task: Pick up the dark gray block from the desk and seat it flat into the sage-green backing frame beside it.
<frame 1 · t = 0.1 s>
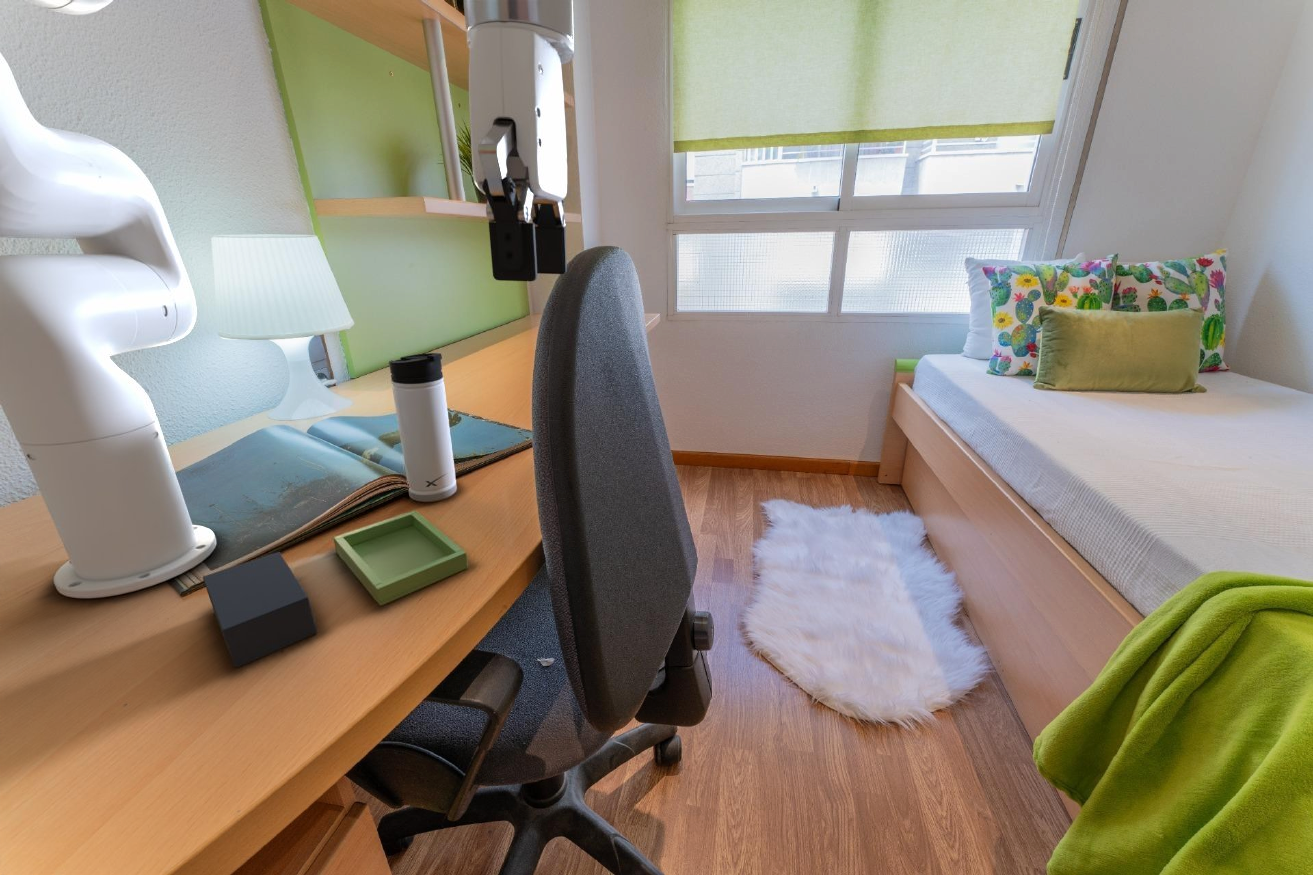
hand: (534, 276, 43), 31 cm above the table, tool pointing down, fingers open, 9 cm apart
dark gray block: (264, 622, 48), on the table
backing frame: (401, 559, 58), on the table
travel mug: (434, 493, 74), on the table
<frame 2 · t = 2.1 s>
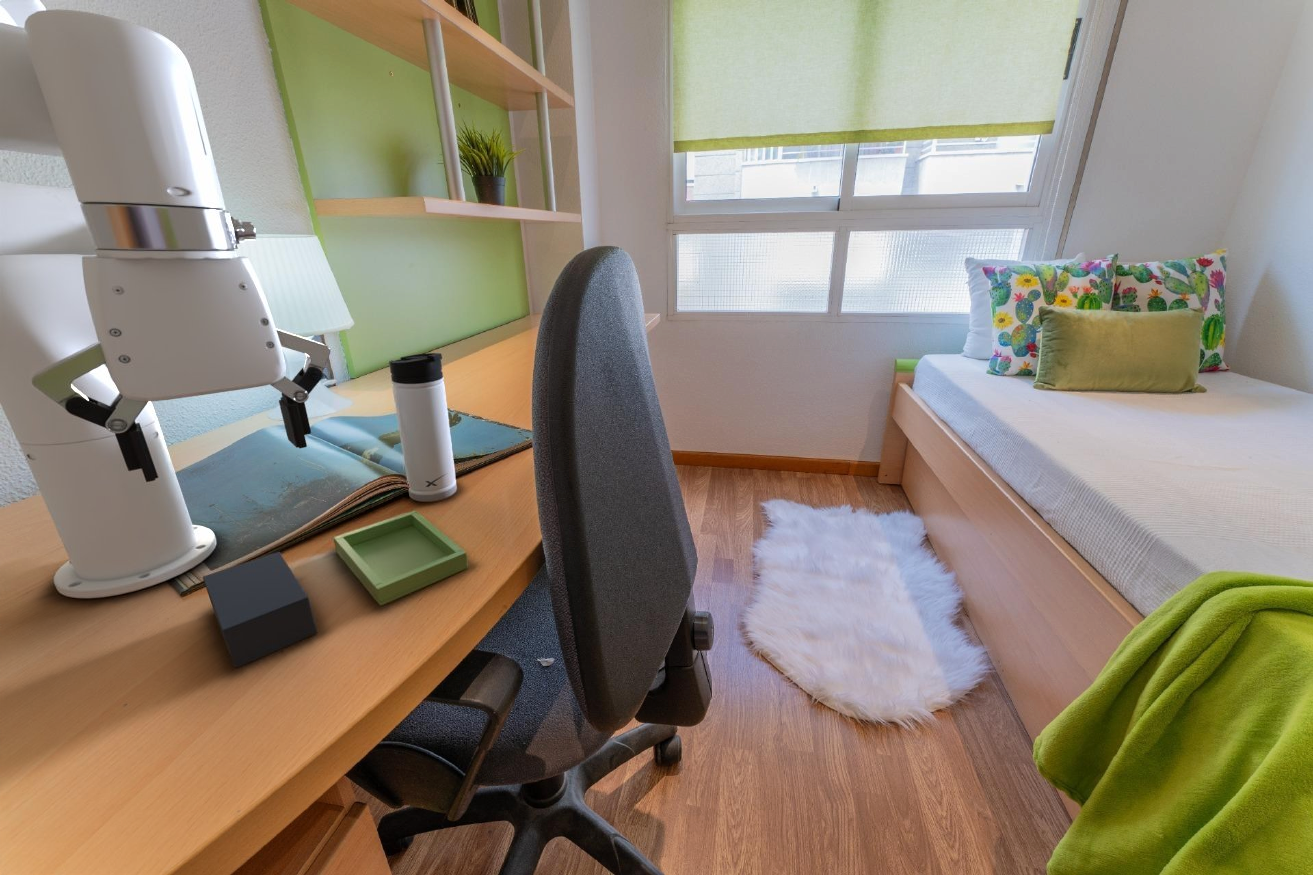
hand: (229, 458, 43), 17 cm above the table, tool pointing down, fingers open, 9 cm apart
nothing on the table moved.
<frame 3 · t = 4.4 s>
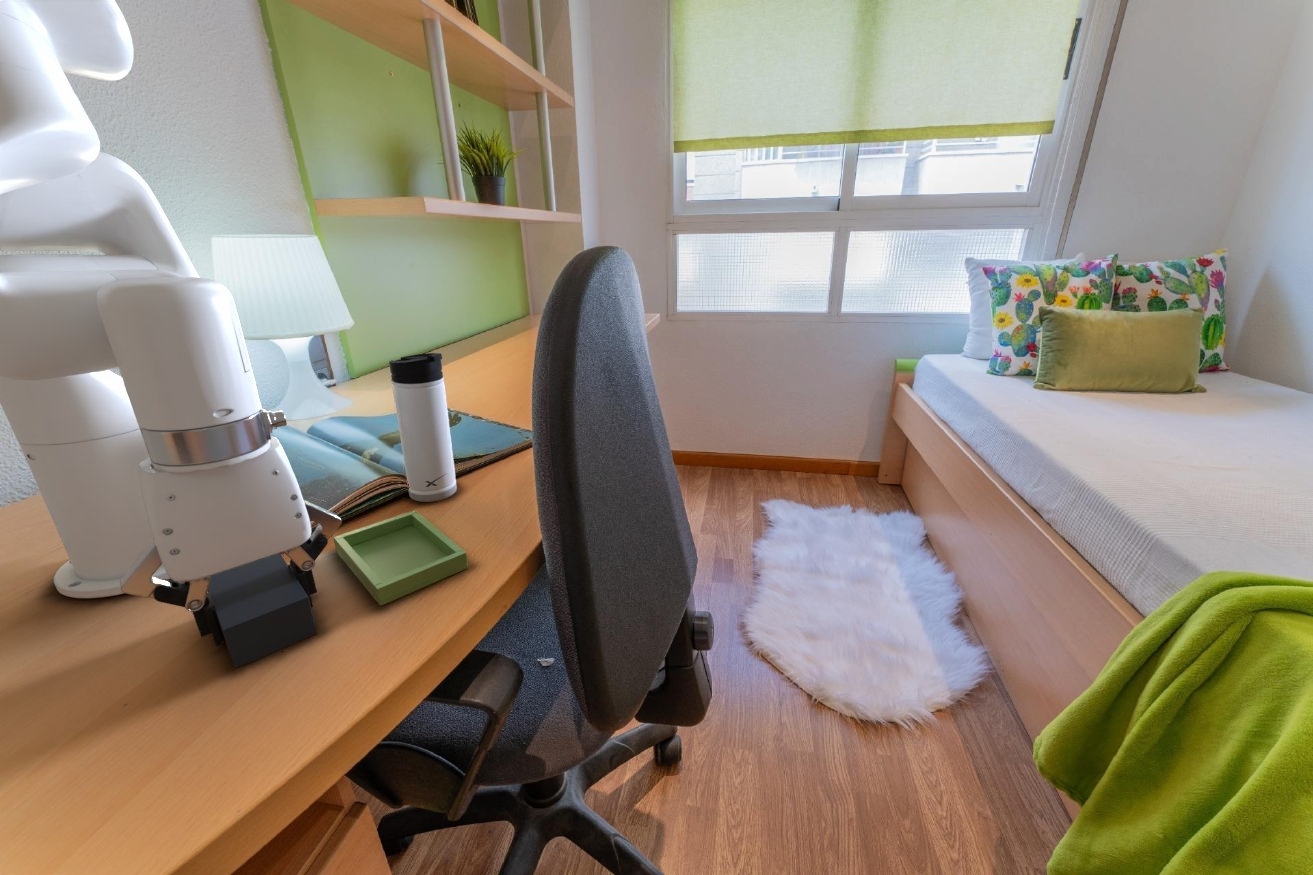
hand: (263, 617, 48), 1 cm above the table, tool pointing down, fingers closed on dark gray block, 6 cm apart
dark gray block: (264, 622, 48), on the table, touching gripper
everything else where it was.
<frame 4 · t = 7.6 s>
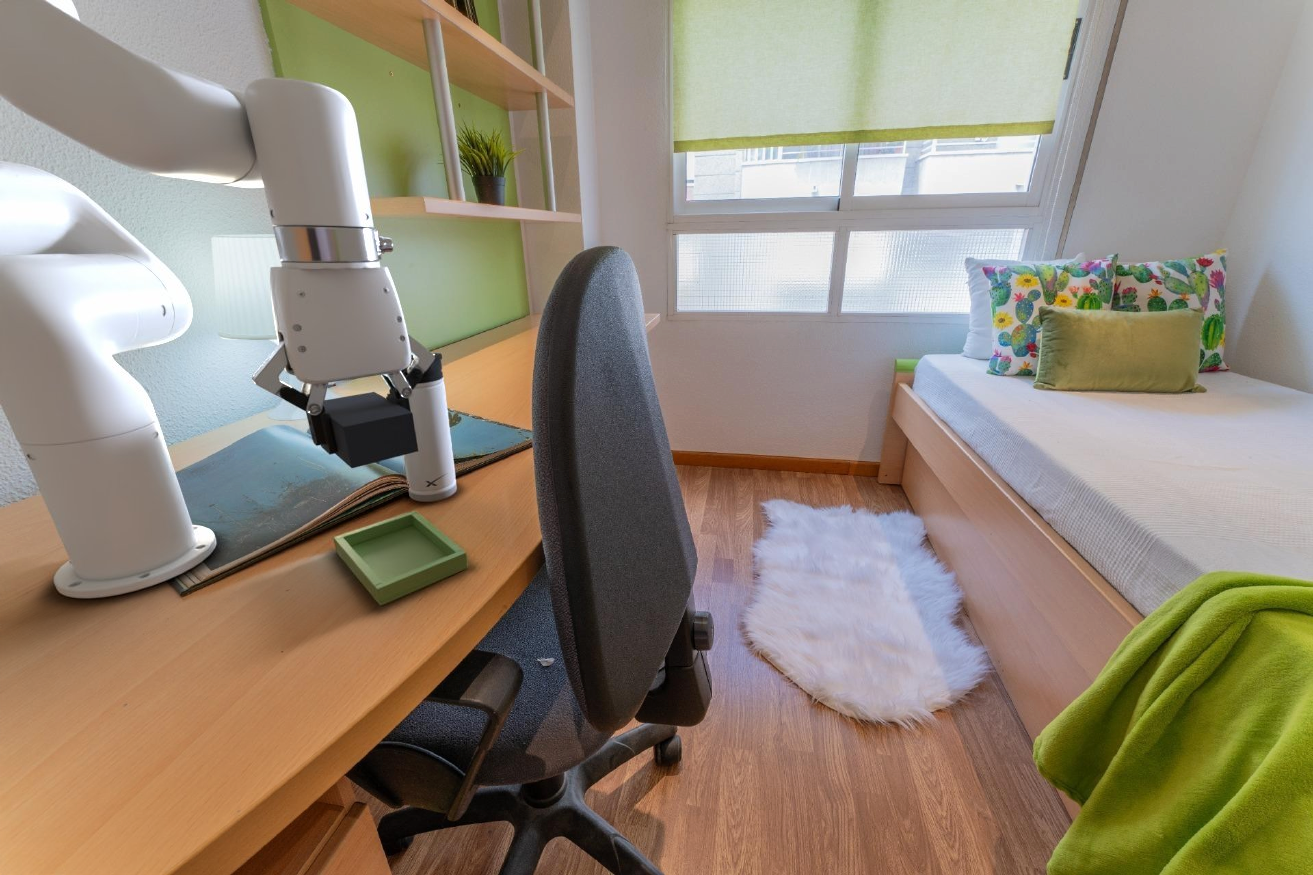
hand: (366, 439, 52), 15 cm above the table, tool pointing down, fingers closed on dark gray block, 6 cm apart
dark gray block: (367, 445, 52), point 14 cm above the table, touching gripper
everything else where it was.
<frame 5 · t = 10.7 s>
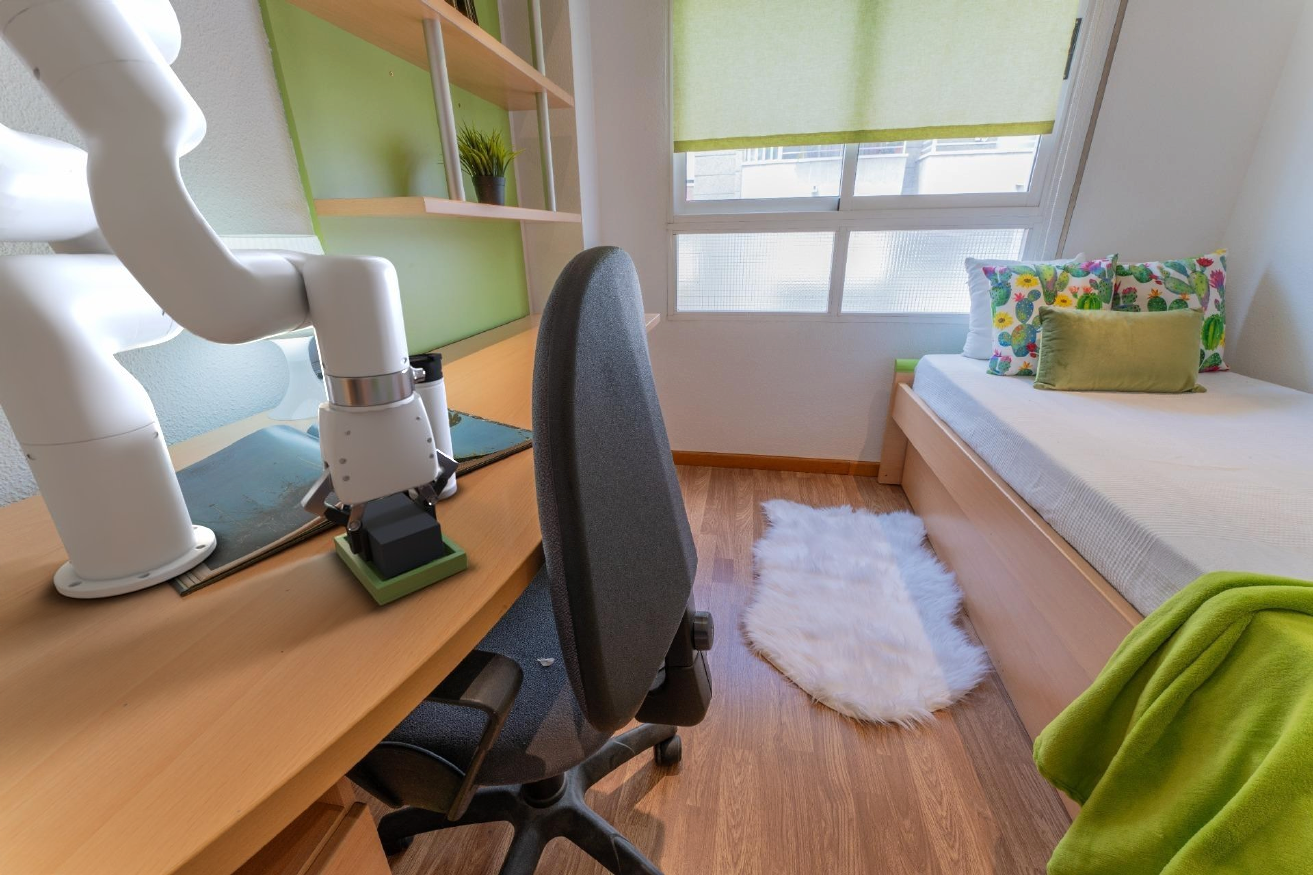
hand: (396, 542, 57), 2 cm above the table, tool pointing down, fingers closed on dark gray block, 6 cm apart
dark gray block: (397, 547, 58), point 2 cm above the table, touching gripper
everything else where it was.
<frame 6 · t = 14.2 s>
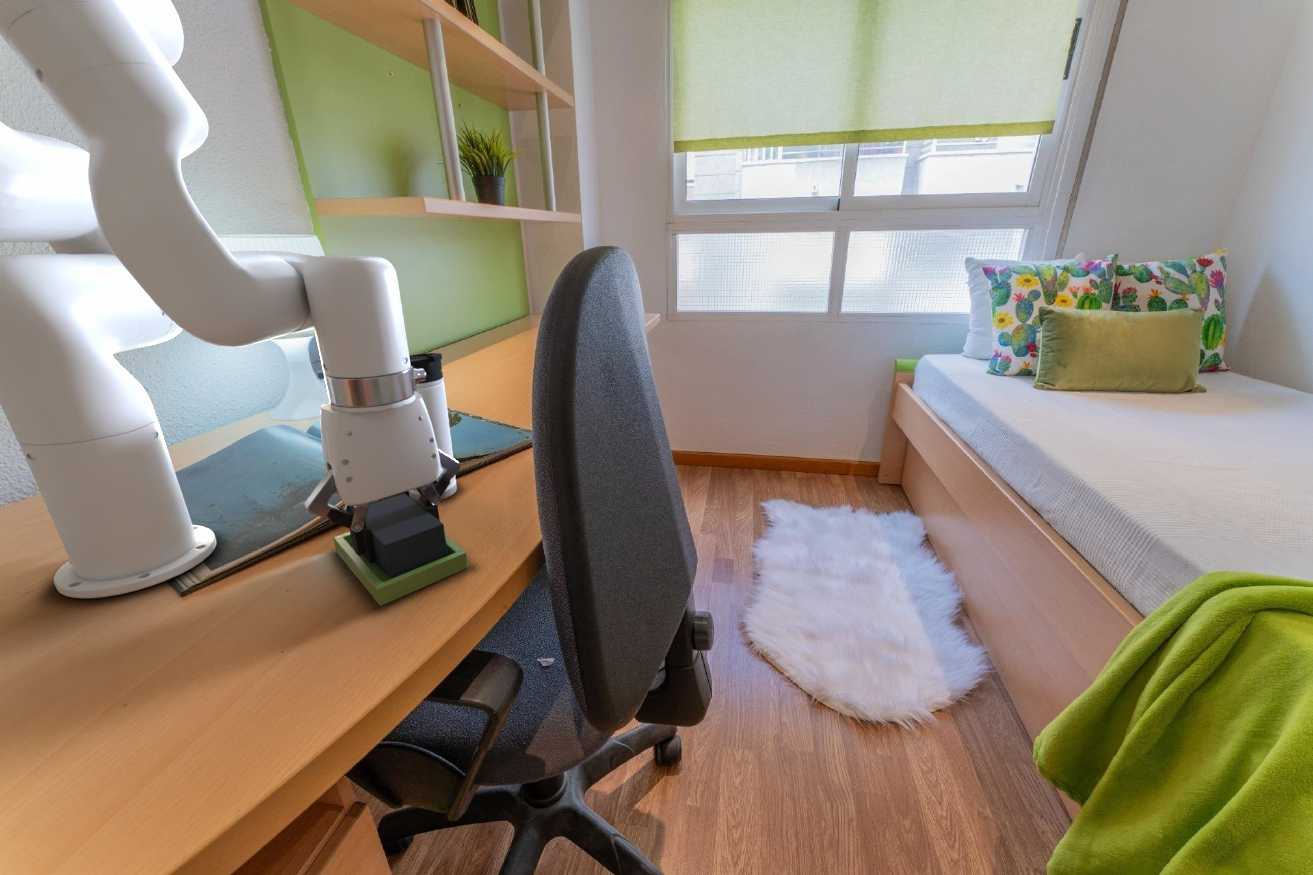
hand: (400, 543, 57), 2 cm above the table, tool pointing down, fingers closed on dark gray block, 6 cm apart
dark gray block: (401, 548, 58), point 2 cm above the table, touching gripper
everything else where it was.
when the fingers open (3 cm above the table, at t = 17.4 s): dark gray block drops 2 cm, resting on backing frame.
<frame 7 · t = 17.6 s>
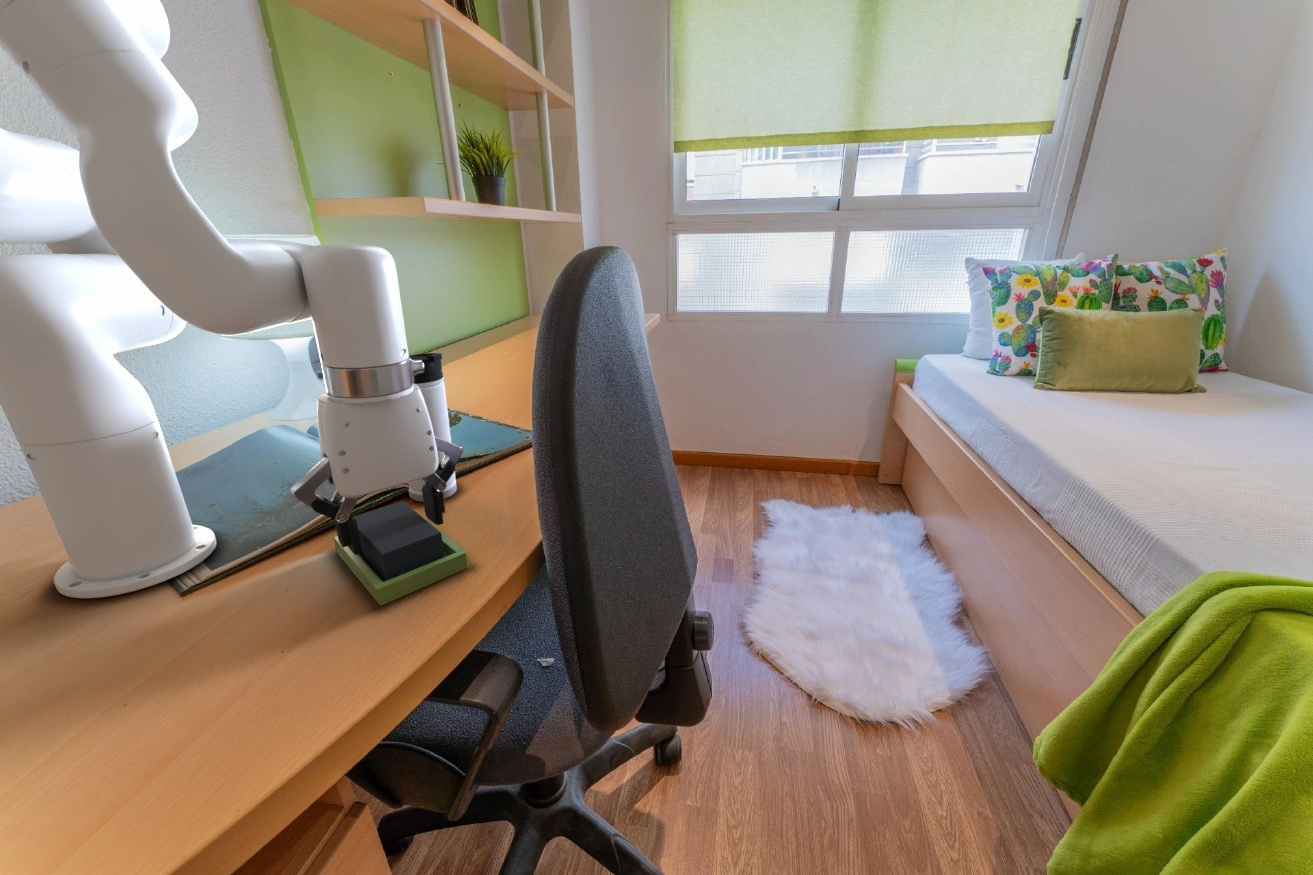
hand: (396, 533, 57), 3 cm above the table, tool pointing down, fingers open, 8 cm apart
dark gray block: (399, 556, 58), resting on backing frame
everything else where it was.
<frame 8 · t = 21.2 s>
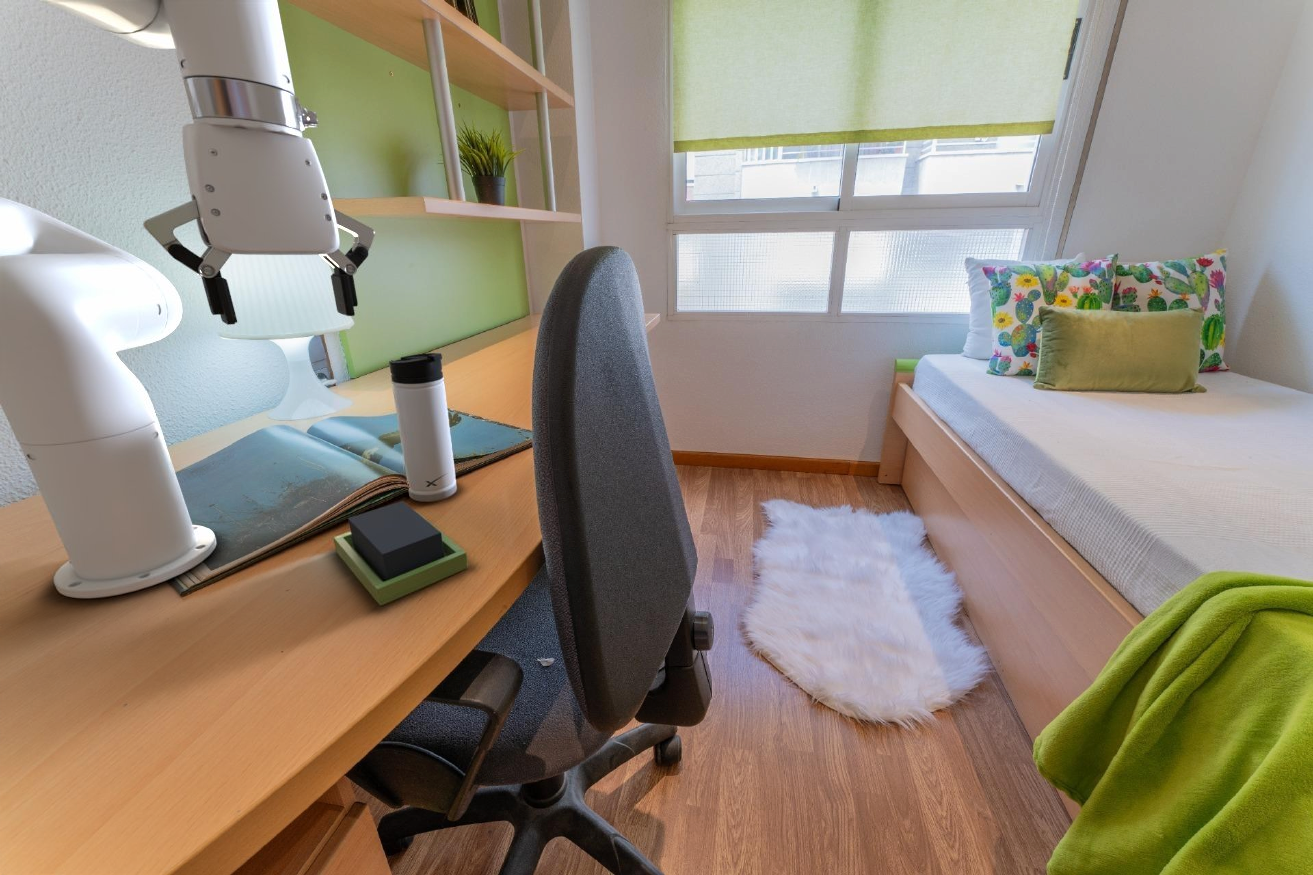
hand: (291, 318, 50), 26 cm above the table, tool pointing down, fingers open, 9 cm apart
nothing on the table moved.
at the end: dark gray block 0.1 cm off-centre in the backing frame, point 0.5 cm above the backing frame's base; dark gray block tilted 0°; the gripper is holding nothing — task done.
